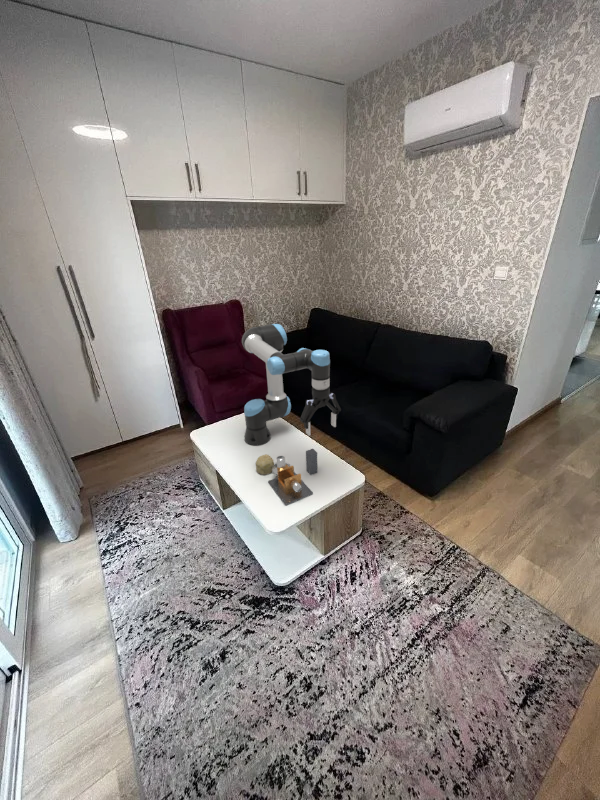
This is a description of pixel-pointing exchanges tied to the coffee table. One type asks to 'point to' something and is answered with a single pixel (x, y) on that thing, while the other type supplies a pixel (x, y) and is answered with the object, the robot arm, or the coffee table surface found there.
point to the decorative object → (264, 464)
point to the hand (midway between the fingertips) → (321, 429)
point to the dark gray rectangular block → (311, 461)
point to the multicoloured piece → (288, 483)
